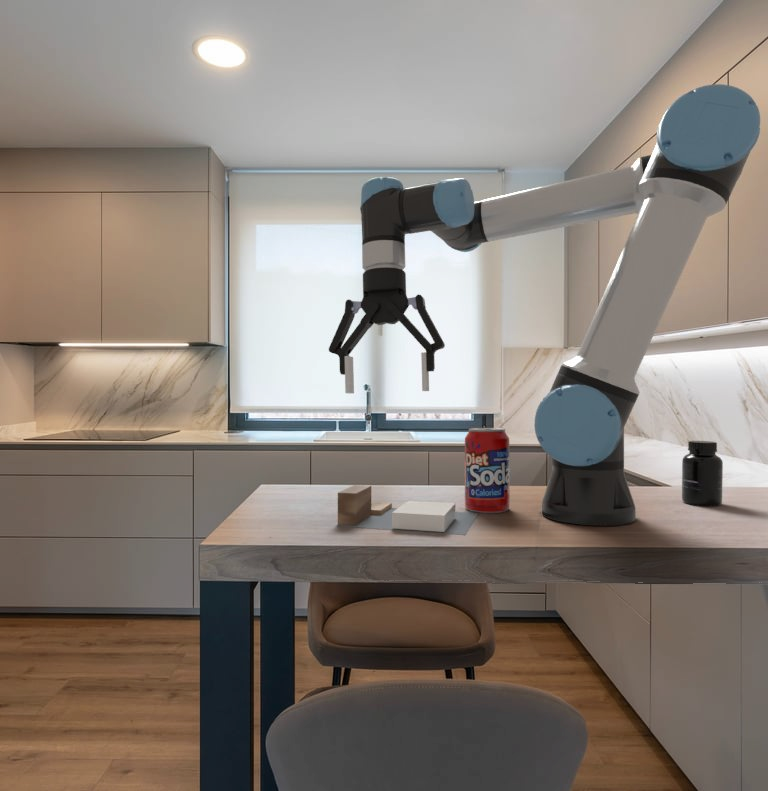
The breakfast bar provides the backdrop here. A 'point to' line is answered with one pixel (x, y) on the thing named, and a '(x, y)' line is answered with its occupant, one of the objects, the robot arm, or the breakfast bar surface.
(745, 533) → the breakfast bar surface
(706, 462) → the supplement bottle
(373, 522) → the mat
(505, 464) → the soda can
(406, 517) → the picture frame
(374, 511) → the block with thin plate
